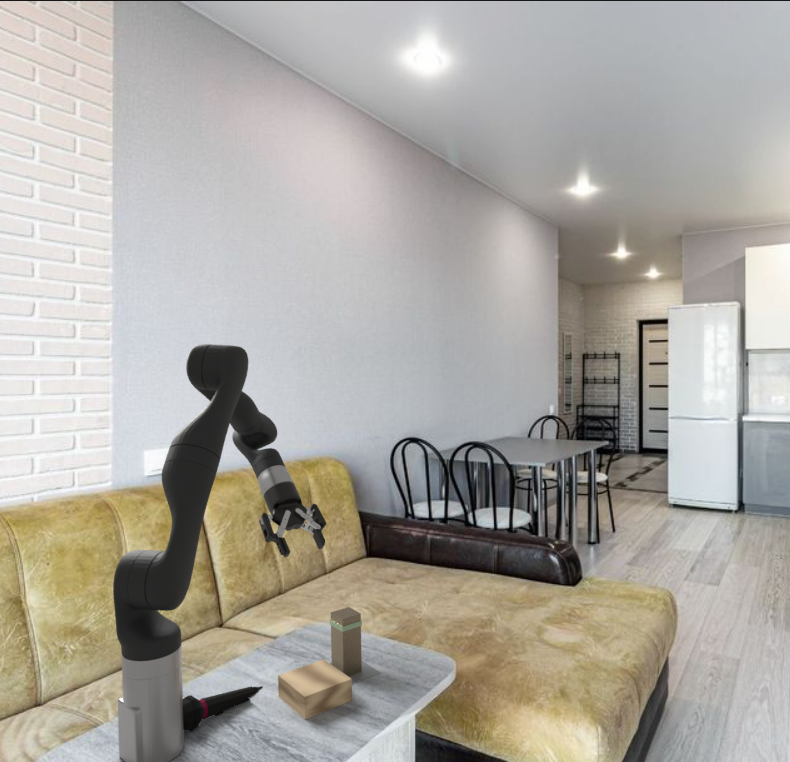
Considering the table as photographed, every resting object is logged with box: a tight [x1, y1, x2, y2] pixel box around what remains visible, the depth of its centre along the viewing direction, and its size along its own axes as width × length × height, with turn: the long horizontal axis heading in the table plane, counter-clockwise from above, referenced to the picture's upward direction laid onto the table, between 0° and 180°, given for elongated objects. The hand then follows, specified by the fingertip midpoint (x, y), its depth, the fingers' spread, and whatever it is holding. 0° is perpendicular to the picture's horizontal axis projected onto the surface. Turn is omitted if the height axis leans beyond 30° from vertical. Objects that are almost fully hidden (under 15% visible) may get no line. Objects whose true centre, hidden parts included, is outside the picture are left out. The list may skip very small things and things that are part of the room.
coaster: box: [329, 660, 382, 685], centre depth 128 cm, size 10×10×1 cm
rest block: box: [277, 659, 353, 720], centre depth 118 cm, size 10×10×5 cm
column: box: [329, 606, 363, 677], centre depth 128 cm, size 5×5×12 cm
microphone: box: [183, 685, 264, 732], centre depth 116 cm, size 6×6×20 cm
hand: (305, 551), depth 135 cm, fingers open, 8 cm apart
